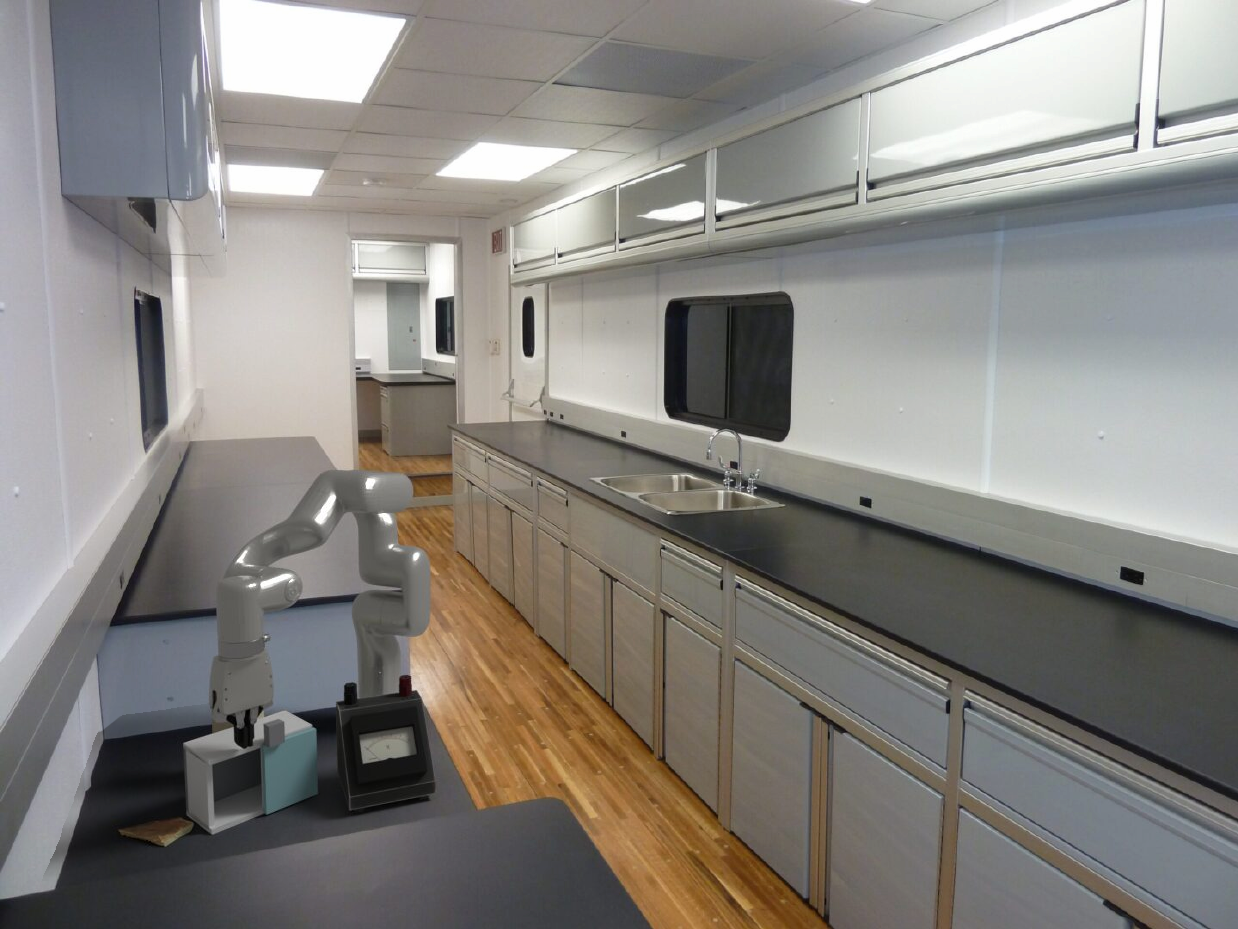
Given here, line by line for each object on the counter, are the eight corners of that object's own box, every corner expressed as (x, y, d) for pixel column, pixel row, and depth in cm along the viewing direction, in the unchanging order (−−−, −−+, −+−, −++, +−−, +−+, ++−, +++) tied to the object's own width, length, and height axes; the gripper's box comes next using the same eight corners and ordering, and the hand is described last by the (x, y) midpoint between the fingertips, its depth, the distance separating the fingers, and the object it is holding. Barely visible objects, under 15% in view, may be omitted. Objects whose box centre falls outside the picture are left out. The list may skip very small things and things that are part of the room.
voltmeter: (350, 818, 164) (347, 715, 162) (337, 778, 179) (335, 683, 176) (436, 801, 171) (435, 702, 168) (417, 764, 186) (416, 672, 183)
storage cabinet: (287, 776, 179) (285, 710, 177) (314, 793, 173) (312, 725, 171) (186, 815, 164) (183, 743, 162) (212, 835, 158) (208, 760, 156)
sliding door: (315, 792, 173) (312, 707, 170) (320, 795, 171) (318, 710, 169) (263, 812, 165) (260, 724, 162) (269, 816, 163) (266, 727, 161)
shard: (118, 837, 157) (117, 827, 157) (154, 816, 164) (154, 807, 164) (163, 851, 153) (162, 841, 153) (199, 828, 160) (198, 819, 160)
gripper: (270, 632, 165) (272, 726, 167) (188, 652, 153) (192, 753, 156) (291, 641, 160) (294, 738, 162) (209, 662, 149) (213, 766, 151)
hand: (244, 745), depth 159 cm, fingers closed
